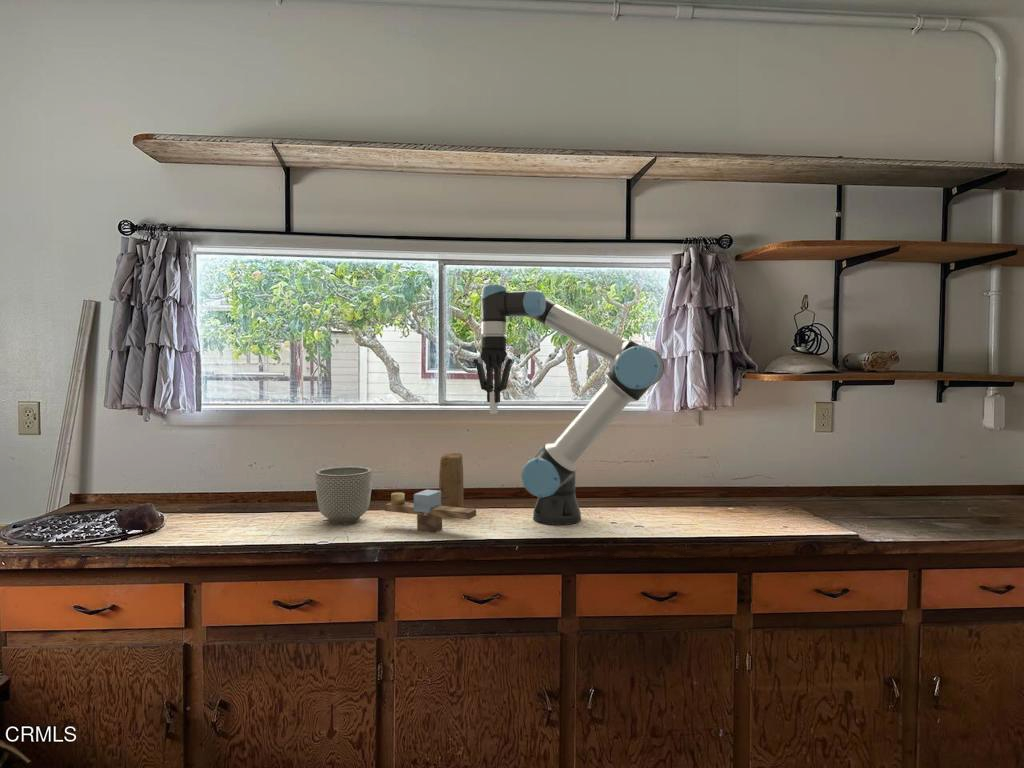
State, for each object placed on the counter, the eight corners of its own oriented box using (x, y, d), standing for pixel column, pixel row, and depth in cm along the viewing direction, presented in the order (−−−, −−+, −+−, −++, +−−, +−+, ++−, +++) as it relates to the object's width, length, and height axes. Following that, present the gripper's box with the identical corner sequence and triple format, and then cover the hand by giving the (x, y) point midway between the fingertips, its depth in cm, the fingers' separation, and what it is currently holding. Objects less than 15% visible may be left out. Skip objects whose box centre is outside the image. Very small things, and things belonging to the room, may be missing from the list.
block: (460, 518, 201) (460, 456, 201) (437, 518, 202) (437, 456, 201) (465, 510, 212) (465, 451, 212) (443, 510, 213) (443, 451, 212)
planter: (304, 521, 197) (304, 470, 197) (352, 512, 210) (352, 464, 209) (334, 531, 185) (334, 477, 185) (383, 521, 198) (383, 470, 198)
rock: (130, 533, 188) (108, 541, 178) (126, 504, 188) (104, 511, 178) (169, 526, 188) (149, 535, 178) (164, 498, 188) (144, 505, 178)
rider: (441, 507, 190) (441, 490, 190) (428, 512, 183) (428, 495, 183) (426, 505, 192) (426, 489, 192) (413, 511, 185) (413, 494, 185)
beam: (476, 532, 185) (476, 498, 184) (468, 537, 180) (468, 502, 180) (394, 523, 195) (393, 491, 195) (384, 527, 190) (384, 494, 190)
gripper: (518, 336, 193) (517, 413, 194) (479, 337, 198) (479, 411, 199) (508, 335, 186) (508, 414, 187) (469, 335, 191) (469, 413, 192)
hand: (493, 413), depth 193 cm, fingers closed
